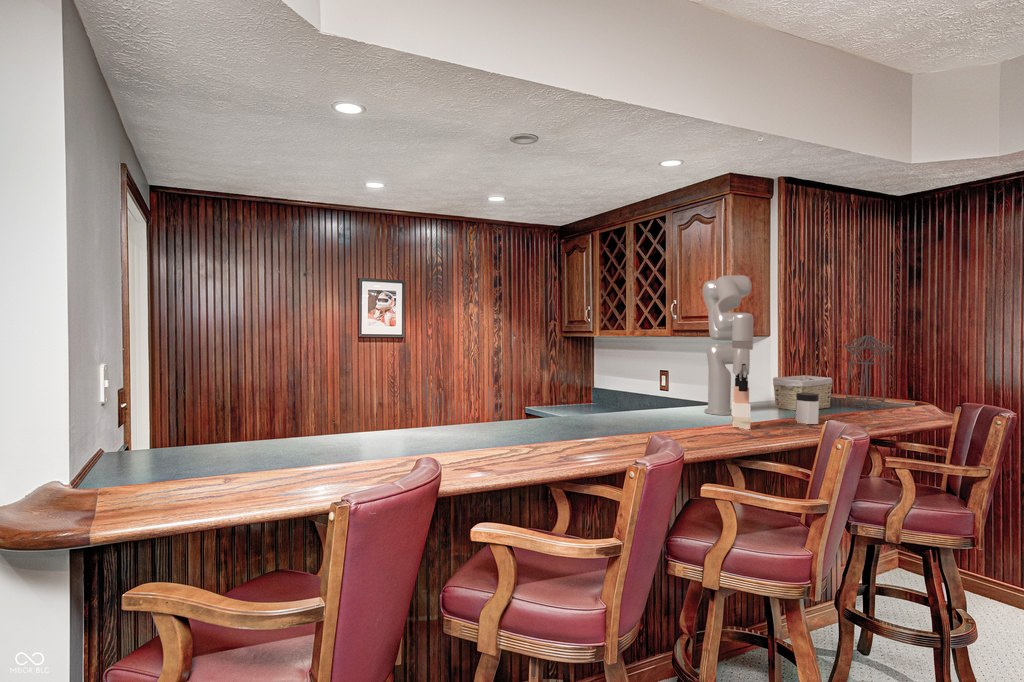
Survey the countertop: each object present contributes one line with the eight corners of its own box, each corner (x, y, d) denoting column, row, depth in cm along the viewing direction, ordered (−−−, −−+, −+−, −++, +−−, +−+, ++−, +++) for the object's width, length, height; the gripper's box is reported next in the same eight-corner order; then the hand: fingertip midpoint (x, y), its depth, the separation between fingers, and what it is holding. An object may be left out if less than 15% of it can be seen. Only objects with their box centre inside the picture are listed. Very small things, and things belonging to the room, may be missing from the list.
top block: (733, 401, 226) (733, 386, 226) (746, 402, 225) (747, 386, 225) (734, 403, 221) (735, 387, 221) (748, 403, 220) (749, 388, 220)
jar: (822, 423, 234) (823, 394, 234) (813, 425, 229) (814, 395, 229) (800, 420, 241) (800, 391, 241) (790, 422, 236) (791, 393, 236)
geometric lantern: (838, 406, 281) (841, 334, 280) (866, 406, 284) (869, 335, 283) (863, 411, 265) (866, 335, 265) (893, 411, 268) (896, 335, 267)
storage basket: (801, 412, 263) (801, 380, 262) (770, 407, 277) (770, 376, 276) (833, 408, 274) (834, 377, 273) (802, 404, 288) (803, 374, 288)
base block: (731, 426, 227) (731, 414, 227) (747, 427, 225) (747, 414, 225) (733, 429, 221) (733, 416, 221) (750, 430, 220) (750, 417, 219)
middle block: (731, 414, 227) (731, 401, 226) (747, 414, 225) (748, 402, 225) (733, 416, 221) (733, 403, 221) (750, 417, 219) (750, 404, 219)
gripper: (728, 343, 231) (727, 386, 232) (735, 346, 215) (734, 392, 216) (748, 344, 230) (747, 386, 231) (756, 347, 213) (755, 393, 214)
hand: (741, 389), depth 223 cm, fingers open, 9 cm apart
